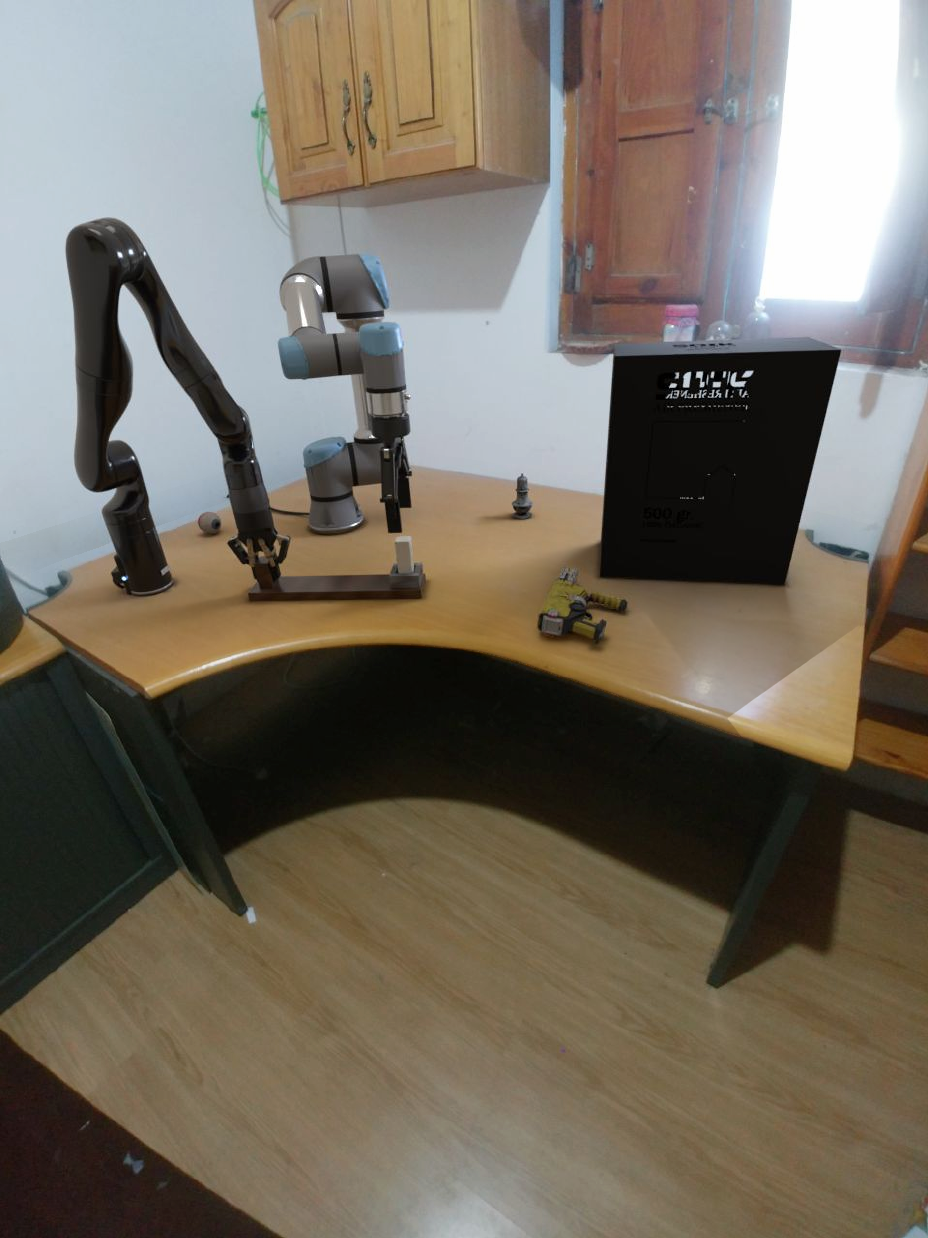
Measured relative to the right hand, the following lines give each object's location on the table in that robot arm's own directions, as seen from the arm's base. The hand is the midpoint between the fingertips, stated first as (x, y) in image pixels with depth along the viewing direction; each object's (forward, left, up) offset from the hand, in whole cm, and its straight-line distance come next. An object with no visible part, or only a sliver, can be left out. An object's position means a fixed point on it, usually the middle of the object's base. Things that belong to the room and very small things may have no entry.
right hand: (400, 519), depth 125 cm
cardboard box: (+31, +55, -16) cm, 65 cm away
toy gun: (+33, +21, -16) cm, 43 cm away
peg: (0, 0, -14) cm, 14 cm away
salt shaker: (-17, +48, -16) cm, 53 cm away
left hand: (-20, -24, -13) cm, 34 cm away
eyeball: (-67, -23, -16) cm, 72 cm away
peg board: (-10, -12, -16) cm, 22 cm away
